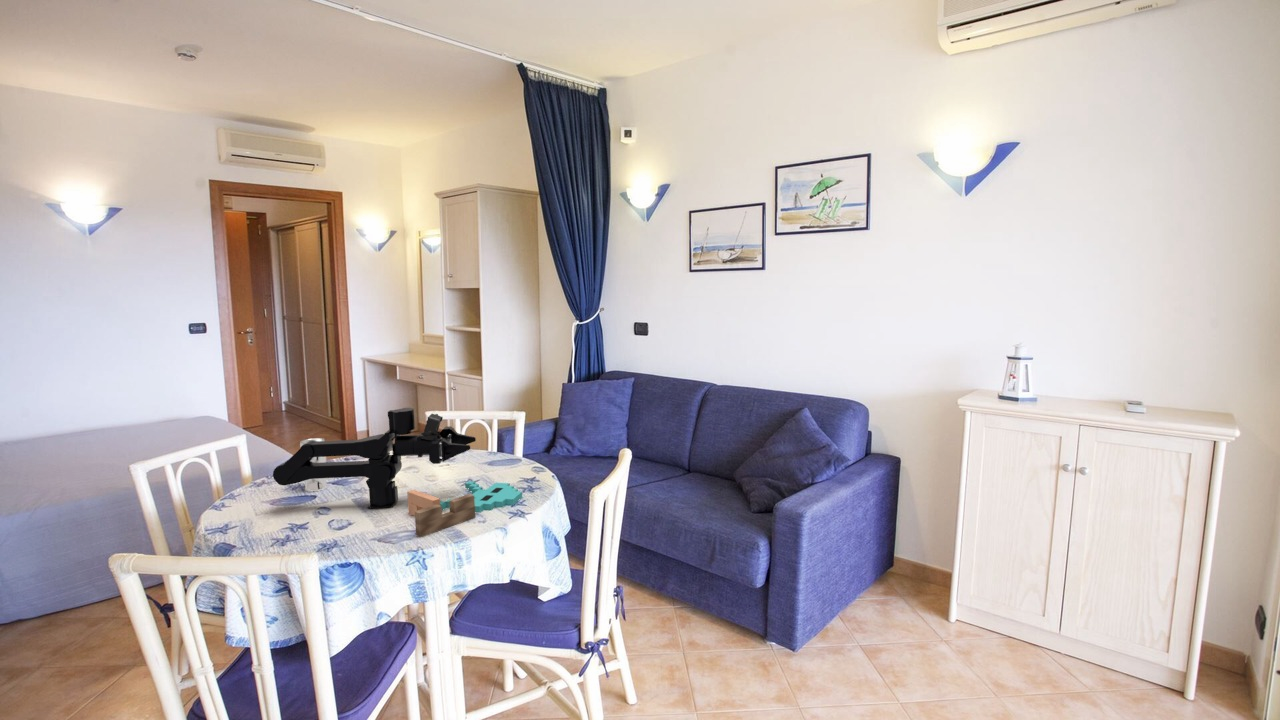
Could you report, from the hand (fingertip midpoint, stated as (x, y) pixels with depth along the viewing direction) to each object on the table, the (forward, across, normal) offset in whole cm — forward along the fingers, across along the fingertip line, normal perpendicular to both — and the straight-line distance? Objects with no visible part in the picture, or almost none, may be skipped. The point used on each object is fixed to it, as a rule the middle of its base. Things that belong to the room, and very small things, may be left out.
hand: (472, 443), depth 176 cm
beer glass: (-50, +18, +17) cm, 56 cm away
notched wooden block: (-4, -19, +17) cm, 26 cm away
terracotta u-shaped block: (-11, -12, +17) cm, 23 cm away
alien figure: (+3, 0, +17) cm, 17 cm away
